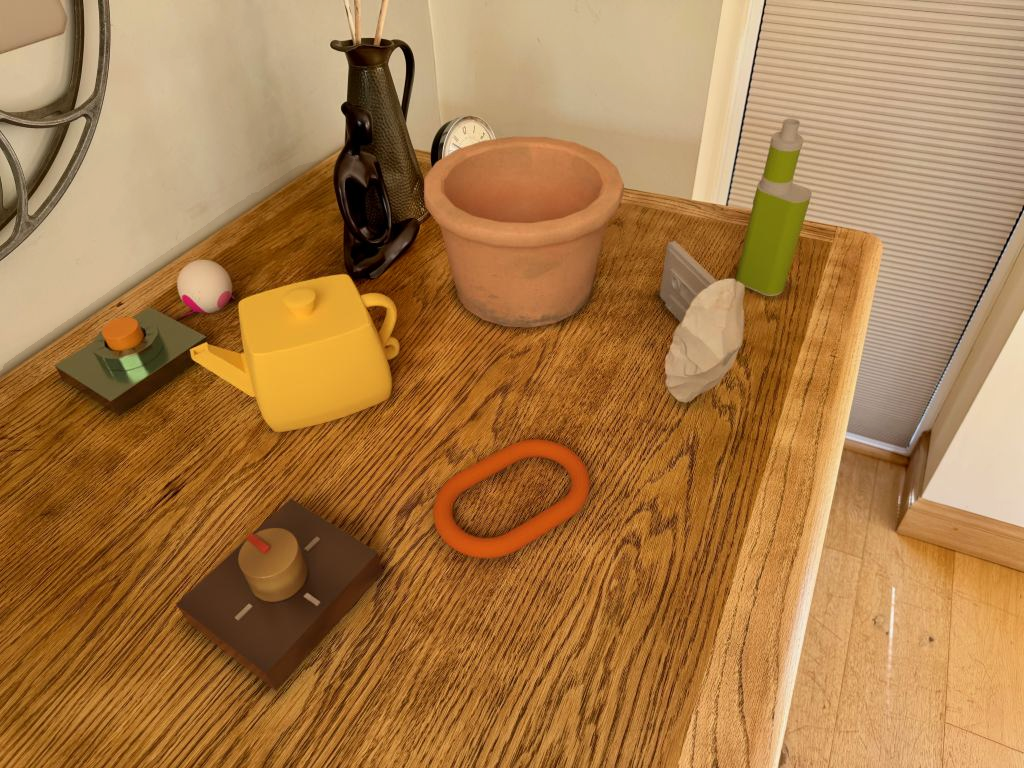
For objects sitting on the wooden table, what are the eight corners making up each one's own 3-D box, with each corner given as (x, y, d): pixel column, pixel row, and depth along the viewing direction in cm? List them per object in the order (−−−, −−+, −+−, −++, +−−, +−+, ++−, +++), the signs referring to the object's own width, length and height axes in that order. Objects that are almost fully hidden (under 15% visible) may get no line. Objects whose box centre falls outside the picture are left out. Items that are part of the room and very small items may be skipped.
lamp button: (121, 355, 76) (115, 342, 74) (101, 343, 77) (94, 330, 76) (151, 336, 78) (145, 324, 77) (130, 325, 79) (124, 312, 78)
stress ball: (195, 318, 91) (148, 294, 86) (234, 269, 91) (190, 241, 86) (216, 347, 86) (168, 323, 81) (258, 295, 86) (212, 267, 81)
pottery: (448, 235, 98) (439, 133, 88) (612, 240, 96) (621, 137, 86) (420, 339, 82) (405, 229, 72) (615, 347, 81) (626, 235, 71)
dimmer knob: (319, 571, 57) (309, 544, 55) (275, 612, 55) (262, 586, 52) (282, 543, 59) (271, 515, 57) (238, 582, 57) (224, 555, 54)
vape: (745, 266, 91) (782, 110, 77) (789, 285, 88) (836, 126, 74) (729, 279, 89) (765, 122, 75) (774, 299, 86) (819, 138, 72)
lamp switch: (118, 416, 74) (103, 388, 72) (63, 380, 79) (45, 352, 76) (212, 351, 81) (201, 323, 79) (156, 321, 86) (144, 294, 83)
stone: (679, 429, 72) (703, 308, 61) (652, 394, 75) (671, 274, 65) (747, 407, 73) (782, 286, 63) (717, 374, 77) (746, 255, 67)
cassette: (655, 296, 87) (663, 242, 82) (668, 293, 88) (677, 238, 82) (710, 357, 79) (723, 301, 74) (725, 353, 79) (739, 296, 74)
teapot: (225, 457, 70) (185, 367, 62) (210, 377, 78) (173, 289, 70) (422, 396, 75) (409, 306, 67) (388, 328, 84) (373, 241, 76)
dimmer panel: (276, 692, 53) (265, 672, 51) (188, 623, 58) (174, 602, 55) (383, 572, 60) (377, 550, 58) (298, 518, 65) (290, 496, 62)
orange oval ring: (411, 493, 64) (546, 420, 70) (414, 505, 65) (546, 432, 71) (471, 571, 58) (612, 484, 64) (472, 582, 60) (611, 496, 66)
